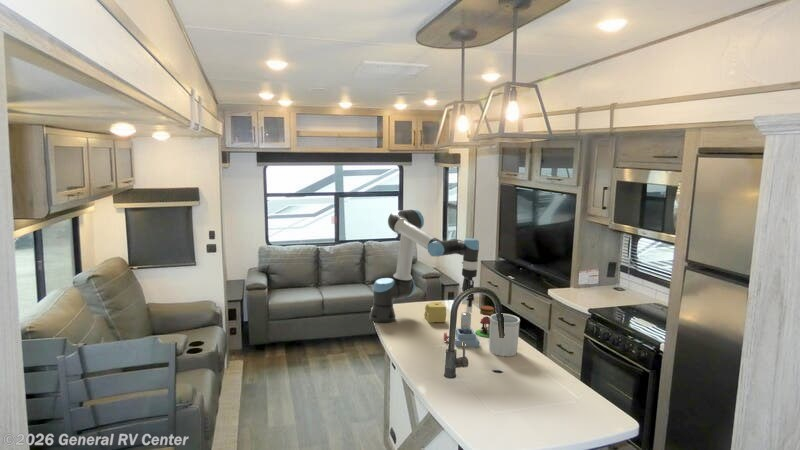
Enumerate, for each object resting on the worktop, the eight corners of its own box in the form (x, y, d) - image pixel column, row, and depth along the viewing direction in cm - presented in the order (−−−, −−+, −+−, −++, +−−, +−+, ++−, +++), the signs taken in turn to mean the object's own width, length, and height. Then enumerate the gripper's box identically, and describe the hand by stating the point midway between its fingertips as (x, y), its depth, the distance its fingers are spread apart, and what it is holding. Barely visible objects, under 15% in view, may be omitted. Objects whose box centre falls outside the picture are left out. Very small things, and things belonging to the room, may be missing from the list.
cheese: (424, 317, 294) (424, 301, 293) (441, 317, 296) (442, 301, 295) (428, 323, 284) (429, 306, 283) (446, 323, 286) (447, 306, 285)
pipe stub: (459, 334, 260) (460, 312, 259) (469, 334, 260) (470, 312, 259) (461, 337, 255) (462, 315, 254) (470, 337, 255) (471, 315, 254)
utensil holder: (491, 357, 239) (493, 322, 237) (484, 345, 254) (487, 312, 252) (521, 357, 240) (523, 323, 238) (513, 346, 255) (515, 313, 252)
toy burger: (472, 336, 267) (474, 309, 265) (476, 329, 279) (478, 303, 277) (494, 339, 263) (496, 312, 261) (497, 332, 275) (499, 306, 273)
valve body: (442, 337, 265) (442, 326, 264) (473, 338, 265) (474, 327, 265) (445, 347, 251) (446, 335, 250) (478, 347, 252) (479, 336, 251)
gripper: (458, 262, 265) (455, 300, 268) (466, 274, 240) (463, 315, 243) (472, 263, 265) (469, 301, 268) (481, 274, 241) (478, 316, 244)
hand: (466, 308), depth 256 cm, fingers open, 13 cm apart
